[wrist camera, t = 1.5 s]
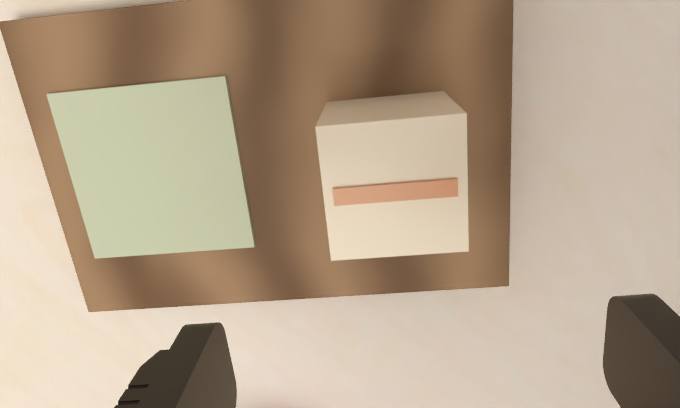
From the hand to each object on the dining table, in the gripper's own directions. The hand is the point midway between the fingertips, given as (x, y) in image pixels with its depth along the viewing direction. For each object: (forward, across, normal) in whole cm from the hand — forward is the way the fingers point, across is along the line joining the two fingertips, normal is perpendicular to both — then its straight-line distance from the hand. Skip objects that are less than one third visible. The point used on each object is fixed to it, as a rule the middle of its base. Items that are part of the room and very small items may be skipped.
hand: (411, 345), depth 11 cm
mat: (+16, +12, 0) cm, 20 cm away
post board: (+17, +6, 0) cm, 18 cm away
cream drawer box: (+16, 0, 0) cm, 16 cm away
